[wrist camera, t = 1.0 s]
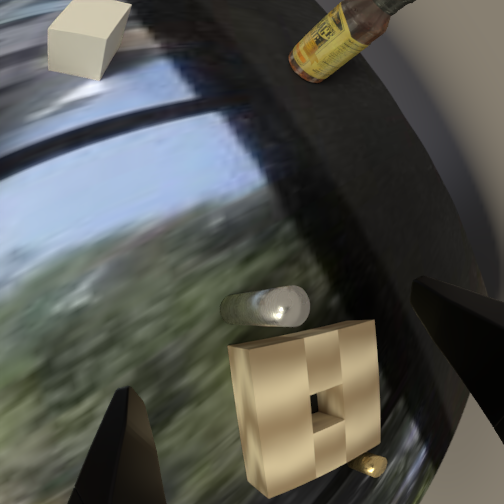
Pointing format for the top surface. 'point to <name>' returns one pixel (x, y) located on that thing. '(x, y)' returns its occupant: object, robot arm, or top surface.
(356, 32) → the sauce bottle
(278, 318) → the long steel pin
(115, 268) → the top surface
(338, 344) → the birch hole block
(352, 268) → the top surface
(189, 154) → the top surface
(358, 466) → the short brass pin
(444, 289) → the robot arm
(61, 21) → the cream cube
